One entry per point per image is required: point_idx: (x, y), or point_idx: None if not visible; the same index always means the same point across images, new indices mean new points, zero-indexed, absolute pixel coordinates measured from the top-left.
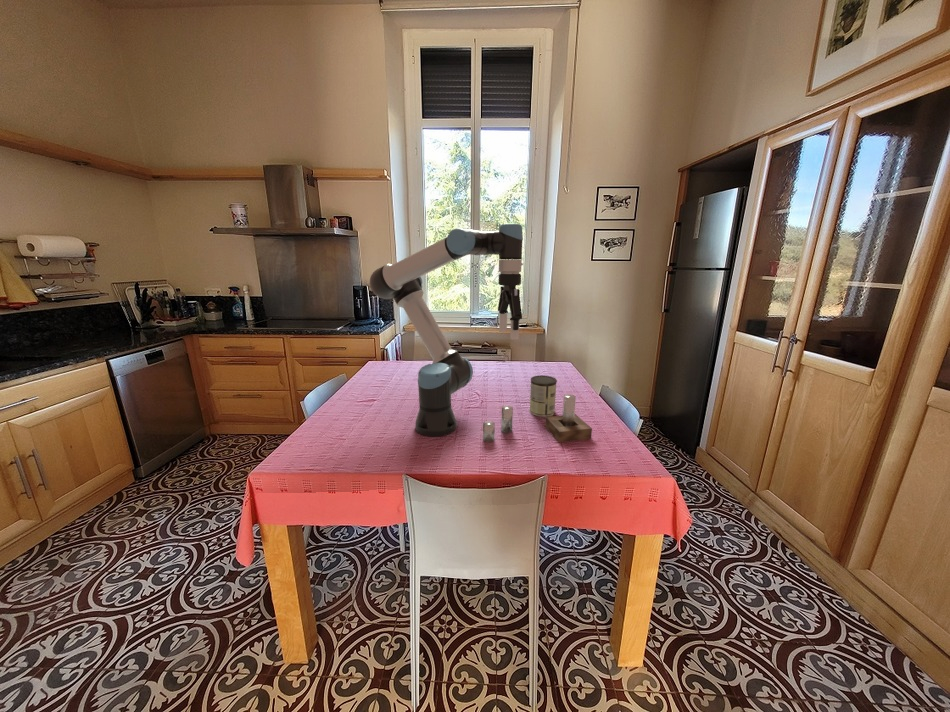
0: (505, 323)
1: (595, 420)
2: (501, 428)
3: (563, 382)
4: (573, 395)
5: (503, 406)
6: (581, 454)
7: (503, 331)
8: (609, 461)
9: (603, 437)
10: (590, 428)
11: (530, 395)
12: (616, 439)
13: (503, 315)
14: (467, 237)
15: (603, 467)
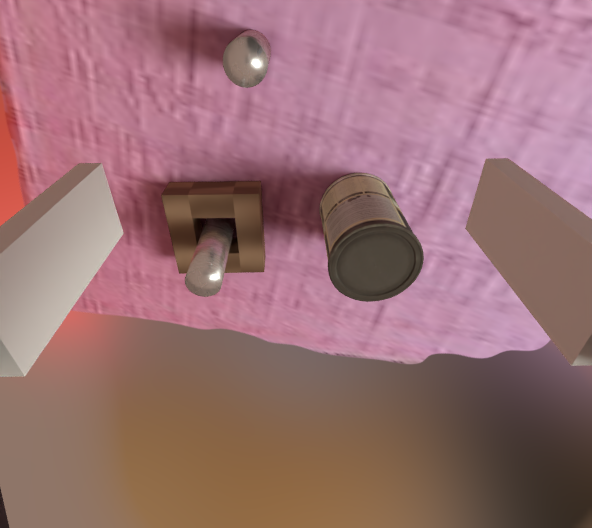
0: (508, 261)
1: (274, 302)
2: (250, 30)
3: (519, 329)
4: (210, 294)
5: (260, 50)
6: None
7: (476, 198)
8: None
9: None
10: (179, 270)
11: (378, 197)
12: (181, 300)
13: (584, 306)
14: None
15: None
